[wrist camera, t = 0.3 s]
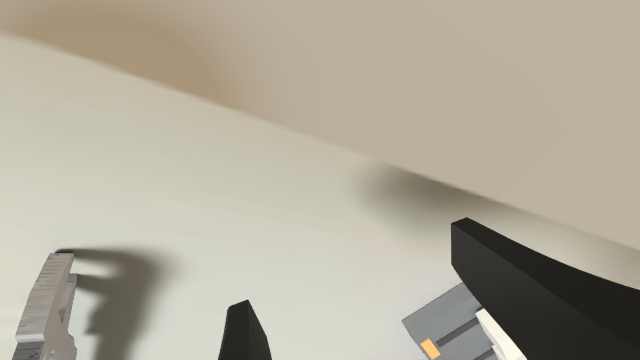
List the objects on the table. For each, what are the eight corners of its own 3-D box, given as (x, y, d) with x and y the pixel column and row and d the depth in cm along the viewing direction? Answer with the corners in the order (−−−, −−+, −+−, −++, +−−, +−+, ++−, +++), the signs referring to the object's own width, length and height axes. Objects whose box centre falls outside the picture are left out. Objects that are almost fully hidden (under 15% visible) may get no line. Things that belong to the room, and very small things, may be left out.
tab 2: (525, 345, 36) (549, 373, 34) (499, 361, 36) (521, 390, 34) (519, 329, 34) (544, 358, 31) (491, 346, 34) (514, 376, 32)
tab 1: (513, 314, 32) (540, 343, 30) (484, 332, 32) (508, 363, 30) (505, 294, 30) (533, 323, 28) (475, 313, 30) (499, 344, 28)
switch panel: (535, 354, 42) (546, 366, 41) (461, 399, 43) (470, 413, 41) (501, 257, 31) (515, 271, 30) (401, 320, 31) (410, 336, 30)
